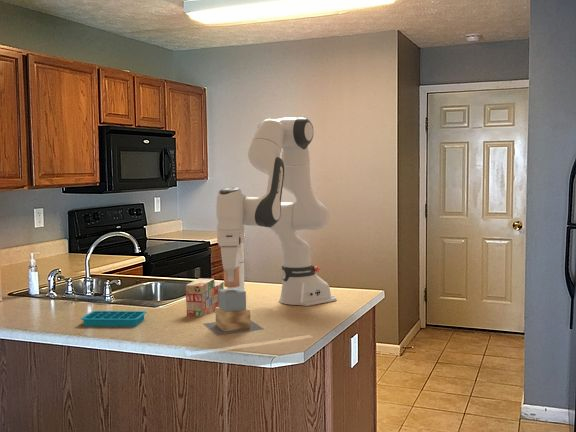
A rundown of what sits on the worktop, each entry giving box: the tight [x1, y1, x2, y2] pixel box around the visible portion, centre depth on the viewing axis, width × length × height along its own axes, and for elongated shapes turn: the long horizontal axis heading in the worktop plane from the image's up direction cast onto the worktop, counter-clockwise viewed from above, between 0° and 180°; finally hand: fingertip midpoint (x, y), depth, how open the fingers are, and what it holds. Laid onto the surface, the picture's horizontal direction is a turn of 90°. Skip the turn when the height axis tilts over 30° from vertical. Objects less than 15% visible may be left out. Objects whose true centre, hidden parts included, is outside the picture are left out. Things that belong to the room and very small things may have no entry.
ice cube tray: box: [80, 310, 147, 328], centre depth 222 cm, size 12×20×3 cm, turn 85°
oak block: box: [214, 307, 251, 331], centre depth 210 cm, size 9×9×6 cm
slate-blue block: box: [219, 288, 247, 312], centre depth 210 cm, size 7×7×6 cm
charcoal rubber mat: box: [203, 319, 265, 337], centre depth 210 cm, size 16×16×1 cm
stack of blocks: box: [185, 277, 225, 318], centre depth 235 cm, size 21×6×12 cm, turn 165°
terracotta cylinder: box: [223, 267, 240, 288], centre depth 209 cm, size 5×5×6 cm
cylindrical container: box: [226, 243, 245, 291], centre depth 270 cm, size 7×7×25 cm
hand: (231, 279), depth 209 cm, fingers closed on terracotta cylinder, 5 cm apart
